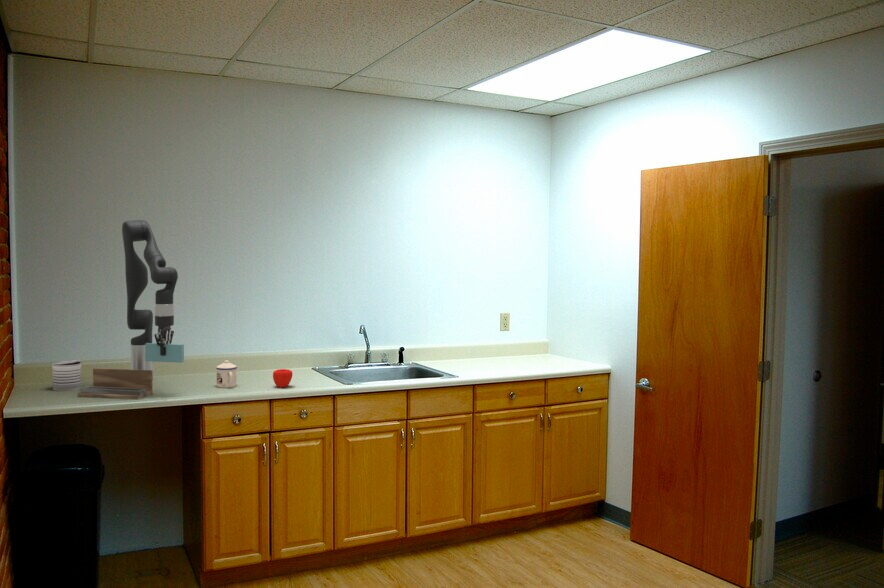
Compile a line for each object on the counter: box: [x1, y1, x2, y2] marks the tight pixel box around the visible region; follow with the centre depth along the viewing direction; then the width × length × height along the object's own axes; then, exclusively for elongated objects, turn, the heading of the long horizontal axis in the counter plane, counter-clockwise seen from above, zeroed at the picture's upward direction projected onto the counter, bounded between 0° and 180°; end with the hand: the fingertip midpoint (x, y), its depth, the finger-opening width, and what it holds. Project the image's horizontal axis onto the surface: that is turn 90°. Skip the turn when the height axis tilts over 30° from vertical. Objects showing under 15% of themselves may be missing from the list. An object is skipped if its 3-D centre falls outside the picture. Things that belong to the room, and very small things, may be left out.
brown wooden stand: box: [77, 367, 154, 400], centre depth 294 cm, size 12×26×10 cm, turn 84°
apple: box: [272, 368, 293, 389], centre depth 321 cm, size 9×9×8 cm
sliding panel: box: [145, 342, 185, 364], centre depth 298 cm, size 2×16×8 cm, turn 86°
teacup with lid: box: [215, 360, 238, 389], centre depth 318 cm, size 12×9×12 cm
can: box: [51, 359, 82, 391], centre depth 307 cm, size 11×11×12 cm
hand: (164, 354), depth 298 cm, fingers closed on sliding panel, 1 cm apart
